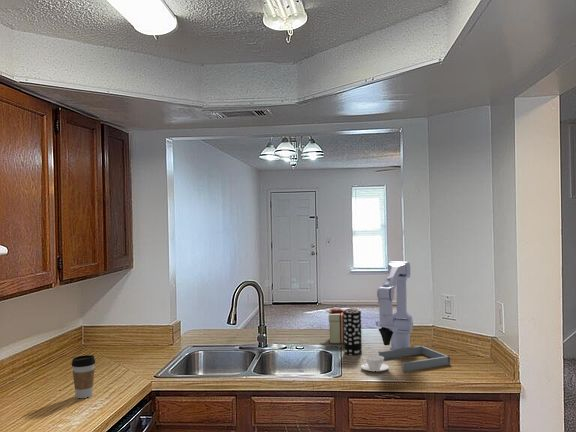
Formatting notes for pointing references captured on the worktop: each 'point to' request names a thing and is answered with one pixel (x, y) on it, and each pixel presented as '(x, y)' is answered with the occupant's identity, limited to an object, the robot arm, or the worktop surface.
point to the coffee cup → (83, 375)
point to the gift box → (337, 324)
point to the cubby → (435, 360)
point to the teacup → (374, 363)
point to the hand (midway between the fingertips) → (386, 344)
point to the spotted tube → (352, 332)
